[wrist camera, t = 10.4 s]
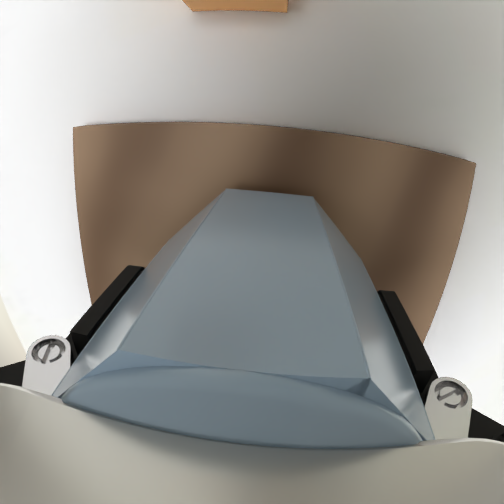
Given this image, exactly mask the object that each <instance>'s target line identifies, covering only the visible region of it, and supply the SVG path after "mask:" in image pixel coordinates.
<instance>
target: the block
mask: <svg viewBox="0 0 504 504" xmlns="http://www.w3.org/2000/svg"><path fill="white" fill-rule="evenodd" d="M182 1H183V2H184V3H185V4H186V5H187V6H188V7H189V8H190V9H191V10H192V11H216V10H246V11H270V12H284V13H287V7H288V0H182Z"/></svg>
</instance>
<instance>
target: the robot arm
mask: <svg viewBox="0 0 504 504" xmlns="http://www.w3.org/2000/svg"><path fill="white" fill-rule="evenodd" d="M144 269H145V268H144V267H141V266H133V265H128V266H126V268H125V269H124V270H123V271H122V272H121V273H120V274H119V275H118V276H117V277H116V279H115V280H114V281H113V282H112V283H111V284H110V285H109V286H108V288H107V289H106V290H105V291H104V292H103V293H102V294H101V295H100V297H99V298H98V299H97V300H96V301H95V302H94V304H93V305H92V306H91V307H90V308H89V309H88V311H87V312H86V313H85V314H84V315H83V316H82V318H81V319H80V320H79V321H78V322H77V324H76V325H75V326H74V327H73V328H72V330H71V331H70V334H69V335H68V337H67V338H66V339H65V338H63V337H61V336H57V335H49V336H45V337H42V338H40V339H37V340H36V341H35V342H33V343H32V344H31V346H30V347H29V349H28V351H27V355H26V360H25V361H21V362H18V363H15V364H11V365H7V366H4V367H0V504H504V426H503V425H501V424H499V423H497V422H496V421H494V420H492V419H490V418H488V417H487V416H485V415H483V414H481V413H480V412H478V411H476V410H474V409H472V395H471V392H470V390H469V389H468V388H467V386H466V385H465V384H463V383H462V382H461V381H459V380H457V379H454V378H450V377H440V378H438V376H437V374H436V371H435V369H434V367H433V365H432V363H431V361H430V359H429V356H428V354H427V352H426V350H425V348H424V346H423V344H422V342H421V340H420V338H419V336H418V334H417V332H416V330H415V329H414V327H413V325H412V323H411V321H410V319H409V317H408V315H407V313H406V311H405V309H404V307H403V306H402V304H401V302H400V300H399V298H398V296H397V294H396V293H395V291H385V290H379V291H378V292H377V293H378V296H379V298H380V300H381V302H382V304H383V307H384V309H385V311H386V313H387V315H388V318H389V320H390V322H391V325H392V327H393V329H394V331H395V334H396V336H397V339H398V341H399V343H400V346H401V348H402V350H403V353H404V355H405V358H406V360H407V363H408V365H409V368H410V370H411V373H412V375H413V378H414V381H415V383H416V386H417V389H418V391H419V394H420V397H421V399H422V402H423V405H424V408H425V410H426V413H427V416H428V419H429V422H430V425H431V428H432V431H433V434H434V437H435V440H426V441H420V442H419V443H417V444H413V445H403V446H392V447H377V448H351V449H314V448H288V447H272V446H260V445H250V444H241V443H232V442H225V441H217V440H211V439H204V438H198V437H192V436H187V435H182V434H176V433H171V432H167V431H162V430H157V429H153V428H149V427H145V426H140V425H136V424H132V423H128V422H125V421H121V420H117V419H114V418H110V417H107V416H103V415H100V414H96V413H93V412H90V411H87V410H84V409H81V408H78V407H75V406H72V405H69V404H66V403H63V402H62V399H60V398H57V397H54V396H51V395H52V393H53V392H54V390H55V389H56V387H57V386H58V384H59V383H60V382H61V380H62V379H63V377H64V376H65V374H66V373H67V371H68V370H69V369H70V367H71V366H72V364H73V363H74V362H75V360H76V359H77V357H78V356H79V354H80V353H81V352H82V350H83V349H84V348H85V346H86V345H87V343H88V342H89V341H90V339H91V338H92V337H93V335H94V334H95V333H96V331H97V330H98V329H99V327H100V326H101V324H102V323H103V322H104V321H105V319H106V318H107V317H108V315H109V314H110V313H111V311H112V310H113V309H114V307H115V306H116V305H117V303H118V302H119V301H120V300H121V298H122V297H123V296H124V294H125V293H126V292H127V291H128V289H129V288H130V287H131V286H132V284H133V283H134V282H135V281H136V279H137V278H138V277H139V276H140V274H141V273H142V272H143V271H144Z"/></svg>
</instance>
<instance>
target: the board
mask: <svg viewBox="0 0 504 504" xmlns="http://www.w3.org/2000/svg"><path fill="white" fill-rule="evenodd" d="M73 153H74V175H75V190H76V202H77V212H78V222H79V230H80V238H81V245H82V252H83V259H84V265H85V271H86V277H87V283H88V288H89V293H90V298H91V303H92V305H93V304H94V302H95V301H96V300H97V299H98V298H99V297H100V295H101V294H102V293H103V292H104V291H105V290H106V289H107V288H108V286H109V285H110V284H111V283H112V282H113V281H114V280H115V279H116V277H117V276H118V275H119V274H120V273H121V272H122V271H123V270H124V269H125V268H126V266H128V265H133V266H141V267H144V268H146V267H147V266H148V264H149V263H150V262H151V261H152V260H153V258H154V257H155V256H156V255H157V253H158V252H159V251H160V250H161V249H162V247H163V246H164V245H165V244H166V243H167V241H168V240H169V239H171V238H172V237H173V236H174V235H175V234H176V233H177V232H178V231H179V230H180V229H181V228H183V227H184V226H185V225H186V224H187V223H188V222H189V221H190V220H191V219H193V218H194V217H195V216H196V215H197V214H198V213H199V212H200V211H202V210H203V209H204V208H205V207H206V206H207V205H208V204H209V203H211V202H212V201H213V200H214V199H215V198H216V197H217V196H219V195H220V194H221V193H222V192H223V191H224V190H225V189H239V190H251V191H262V192H273V193H283V194H293V195H303V196H313V197H314V199H315V200H316V201H317V202H318V204H319V205H320V206H321V207H322V209H323V210H324V211H325V213H326V214H327V215H328V216H329V218H330V219H331V220H332V221H333V223H334V224H335V225H336V227H337V228H338V229H339V231H340V232H341V233H342V234H343V236H344V237H345V238H346V240H347V241H348V242H349V244H350V245H351V246H352V248H353V249H354V250H355V252H356V253H357V254H358V256H359V257H360V258H361V260H362V262H363V264H364V266H365V268H366V270H367V272H368V274H369V277H370V279H371V281H372V283H373V285H374V287H375V289H376V291H377V292H378V291H379V290H385V291H395V293H396V294H397V296H398V298H399V300H400V302H401V304H402V306H403V307H404V309H405V311H406V313H407V315H408V317H409V319H410V321H411V323H412V325H413V327H414V329H415V330H416V332H417V334H418V336H419V338H420V340H421V342H422V344H423V342H424V340H425V338H426V335H427V333H428V330H429V328H430V326H431V323H432V320H433V318H434V315H435V313H436V310H437V307H438V305H439V302H440V299H441V297H442V294H443V291H444V288H445V285H446V282H447V279H448V276H449V273H450V270H451V267H452V263H453V260H454V257H455V253H456V250H457V247H458V243H459V239H460V236H461V232H462V228H463V224H464V220H465V216H466V212H467V207H468V203H469V198H470V193H471V189H472V183H473V178H474V173H475V167H476V163H474V162H471V161H468V160H465V159H461V158H457V157H453V156H449V155H446V154H442V153H437V152H433V151H429V150H425V149H420V148H416V147H411V146H406V145H401V144H396V143H391V142H386V141H381V140H375V139H369V138H364V137H357V136H351V135H345V134H338V133H331V132H323V131H315V130H307V129H298V128H288V127H277V126H265V125H252V124H235V123H211V122H139V123H116V124H100V125H87V126H79V127H73Z"/></svg>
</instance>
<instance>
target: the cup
mask: <svg viewBox="0 0 504 504" xmlns="http://www.w3.org/2000/svg"><path fill="white" fill-rule="evenodd" d="M51 396H54V397H57V398H60V399H62V402H63V403H66V404H69V405H72V406H75V407H78V408H81V409H84V410H87V411H90V412H93V413H96V414H100V415H103V416H107V417H110V418H114V419H117V420H121V421H125V422H128V423H132V424H136V425H140V426H145V427H149V428H153V429H157V430H162V431H167V432H171V433H176V434H182V435H187V436H192V437H198V438H204V439H211V440H217V441H225V442H232V443H241V444H250V445H260V446H272V447H288V448H314V449H351V448H377V447H392V446H403V445H413V444H417V443H419V442H420V441H426V440H435V437H434V434H433V431H432V428H431V425H430V422H429V419H428V416H427V413H426V410H425V408H424V405H423V402H422V399H421V397H420V394H419V391H418V389H417V386H416V383H415V381H414V378H413V375H412V373H411V370H410V368H409V365H408V363H407V360H406V358H405V355H404V353H403V350H402V348H401V346H400V343H399V341H398V339H397V336H396V334H395V331H394V329H393V327H392V325H391V322H390V320H389V318H388V315H387V313H386V311H385V309H384V307H383V304H382V302H381V300H380V298H379V296H378V293H377V291H376V289H375V287H374V285H373V283H372V281H371V279H370V277H369V274H368V272H367V270H366V268H365V266H364V264H363V262H362V260H361V258H360V257H359V256H358V254H357V253H356V252H355V250H354V249H353V248H352V246H351V245H350V244H349V242H348V241H347V240H346V238H345V237H344V236H343V234H342V233H341V232H340V231H339V229H338V228H337V227H336V225H335V224H334V223H333V221H332V220H331V219H330V218H329V216H328V215H327V214H326V213H325V211H324V210H323V209H322V207H321V206H320V205H319V204H318V202H317V201H316V200H315V199H314V197H313V196H303V195H293V194H283V193H273V192H262V191H251V190H239V189H225V190H224V191H223V192H222V193H221V194H220V195H219V196H217V197H216V198H215V199H214V200H213V201H212V202H211V203H209V204H208V205H207V206H206V207H205V208H204V209H203V210H202V211H200V212H199V213H198V214H197V215H196V216H195V217H194V218H193V219H191V220H190V221H189V222H188V223H187V224H186V225H185V226H184V227H183V228H181V229H180V230H179V231H178V232H177V233H176V234H175V235H174V236H173V237H172V238H171V239H169V240H168V241H167V243H166V244H165V245H164V246H163V247H162V249H161V250H160V251H159V252H158V253H157V255H156V256H155V257H154V258H153V260H152V261H151V262H150V263H149V264H148V266H147V267H146V268H145V269H144V271H143V272H142V273H141V274H140V276H139V277H138V278H137V279H136V281H135V282H134V283H133V284H132V286H131V287H130V288H129V289H128V291H127V292H126V293H125V294H124V296H123V297H122V298H121V300H120V301H119V302H118V303H117V305H116V306H115V307H114V309H113V310H112V311H111V313H110V314H109V315H108V317H107V318H106V319H105V321H104V322H103V323H102V324H101V326H100V327H99V329H98V330H97V331H96V333H95V334H94V335H93V337H92V338H91V339H90V341H89V342H88V343H87V345H86V346H85V348H84V349H83V350H82V352H81V353H80V354H79V356H78V357H77V359H76V360H75V362H74V363H73V364H72V366H71V367H70V369H69V370H68V371H67V373H66V374H65V376H64V377H63V379H62V380H61V382H60V383H59V384H58V386H57V387H56V389H55V390H54V392H53V393H52V395H51Z"/></svg>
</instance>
